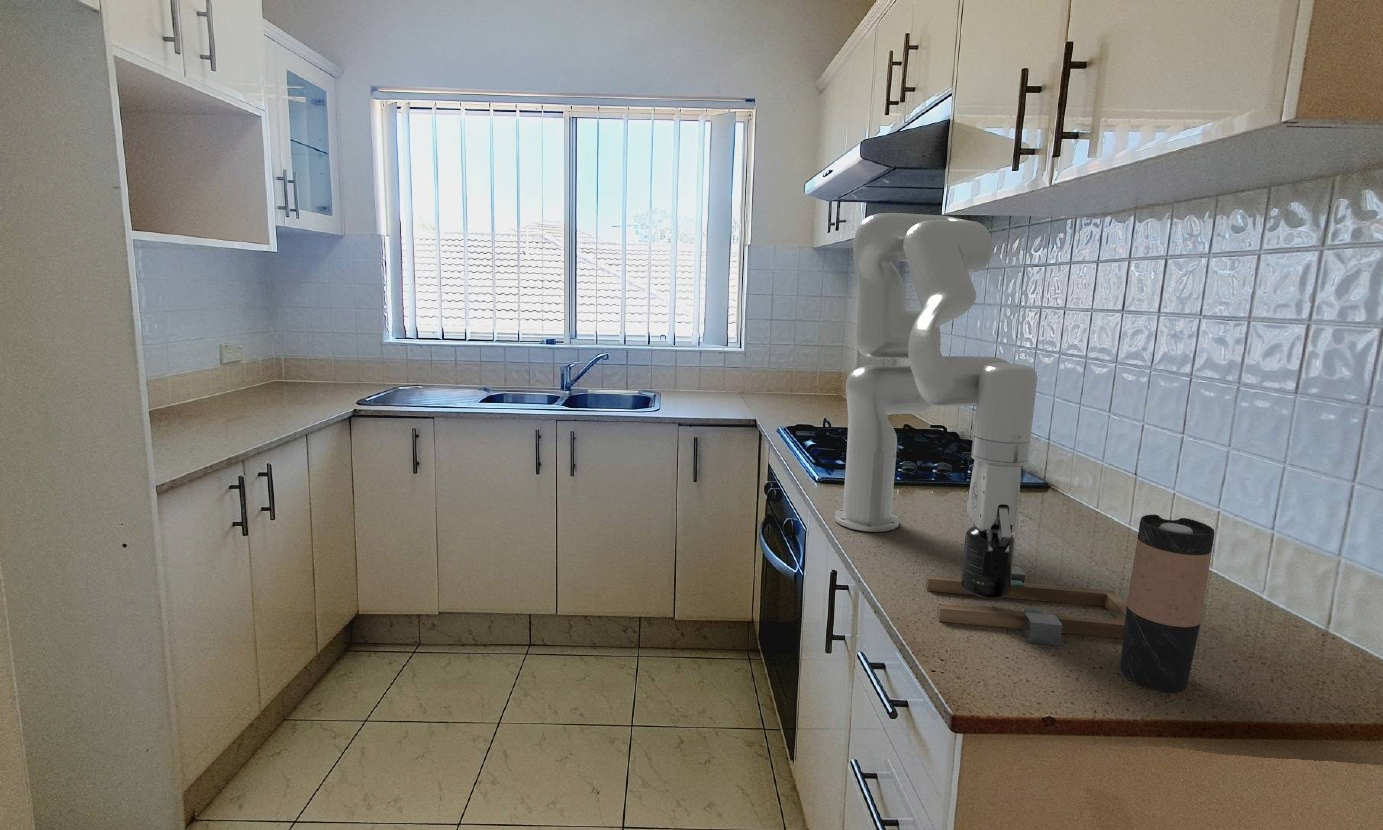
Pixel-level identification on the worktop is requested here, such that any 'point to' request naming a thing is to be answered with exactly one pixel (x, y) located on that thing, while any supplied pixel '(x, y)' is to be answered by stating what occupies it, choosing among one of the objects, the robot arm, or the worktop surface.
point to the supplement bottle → (973, 566)
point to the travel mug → (1165, 602)
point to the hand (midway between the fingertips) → (987, 565)
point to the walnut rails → (1035, 593)
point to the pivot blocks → (1038, 621)
